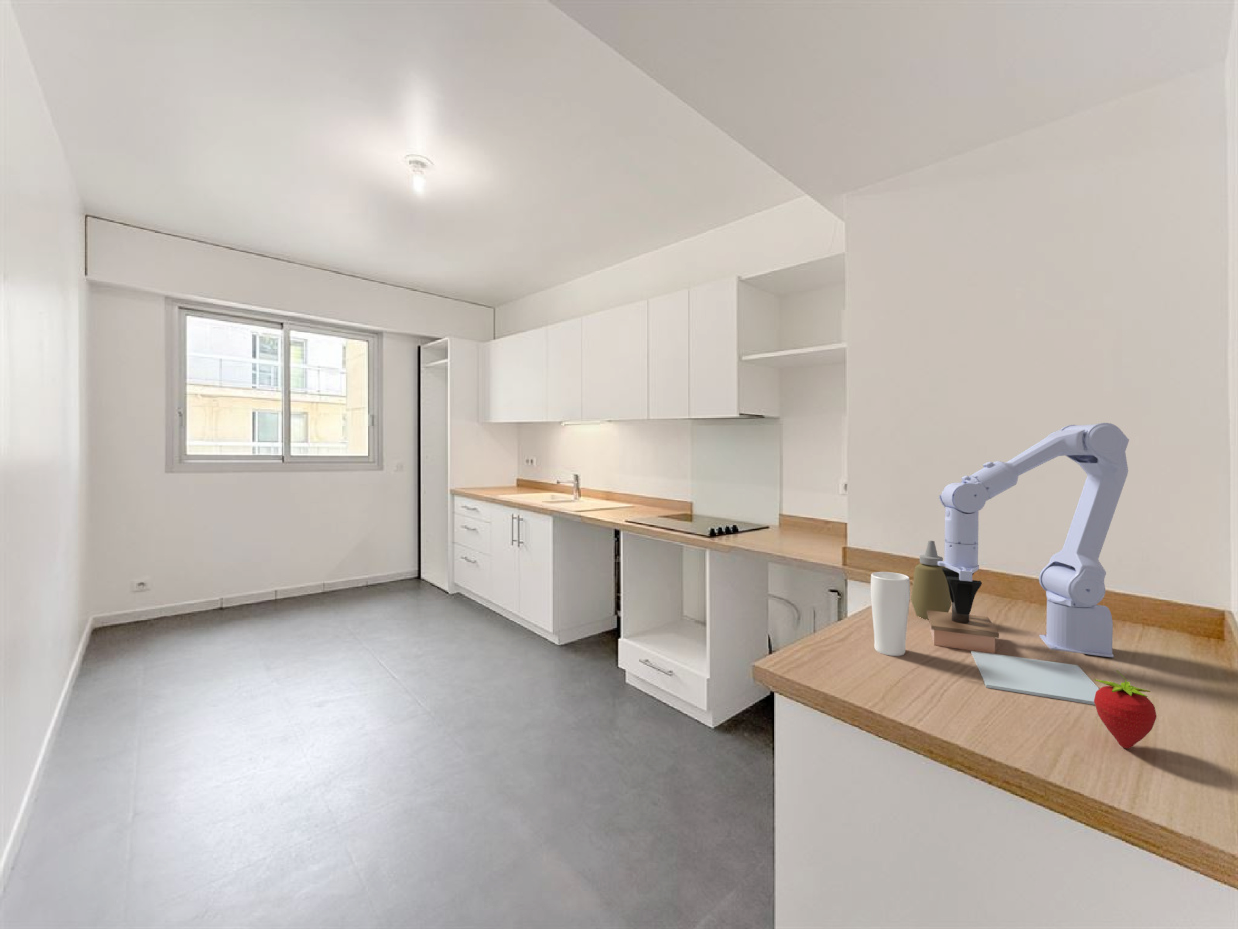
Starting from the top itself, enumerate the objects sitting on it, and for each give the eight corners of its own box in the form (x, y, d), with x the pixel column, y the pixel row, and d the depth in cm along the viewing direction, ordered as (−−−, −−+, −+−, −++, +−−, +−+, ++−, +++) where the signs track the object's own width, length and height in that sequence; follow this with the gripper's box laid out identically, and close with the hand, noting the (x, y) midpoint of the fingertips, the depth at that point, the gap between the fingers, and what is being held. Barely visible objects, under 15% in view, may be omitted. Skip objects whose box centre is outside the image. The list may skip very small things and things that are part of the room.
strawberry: (1094, 751, 68) (1095, 675, 68) (1092, 728, 74) (1093, 658, 73) (1159, 769, 64) (1161, 689, 64) (1151, 743, 70) (1153, 669, 69)
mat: (1077, 668, 93) (1077, 665, 93) (1113, 708, 79) (1113, 704, 79) (970, 653, 101) (970, 650, 101) (986, 687, 86) (986, 684, 86)
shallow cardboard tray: (985, 637, 109) (985, 621, 109) (994, 654, 100) (995, 636, 100) (929, 630, 113) (929, 614, 113) (934, 646, 104) (934, 629, 104)
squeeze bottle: (951, 616, 123) (951, 539, 122) (951, 626, 116) (952, 545, 116) (911, 610, 127) (912, 537, 127) (909, 619, 120) (910, 542, 120)
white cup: (914, 660, 97) (915, 580, 97) (875, 658, 99) (876, 579, 98) (902, 647, 104) (903, 572, 104) (866, 644, 105) (866, 571, 105)
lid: (987, 620, 109) (988, 600, 109) (998, 638, 99) (999, 615, 99) (926, 613, 114) (926, 594, 114) (931, 629, 104) (931, 608, 104)
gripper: (934, 535, 114) (933, 596, 114) (941, 546, 101) (941, 616, 101) (973, 537, 111) (972, 601, 111) (985, 549, 98) (984, 621, 98)
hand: (960, 608), depth 106 cm, fingers open, 7 cm apart
